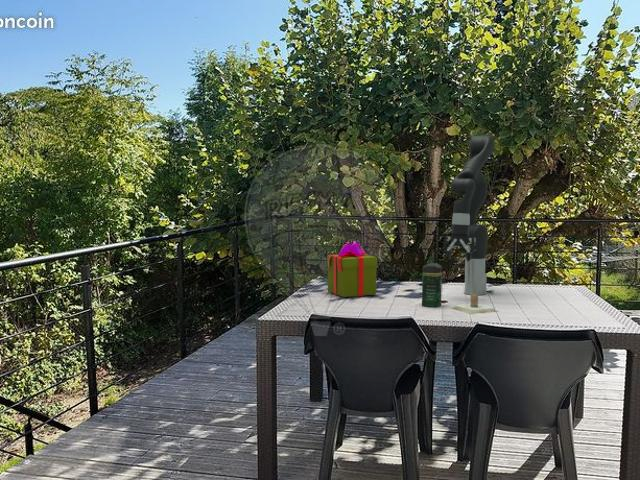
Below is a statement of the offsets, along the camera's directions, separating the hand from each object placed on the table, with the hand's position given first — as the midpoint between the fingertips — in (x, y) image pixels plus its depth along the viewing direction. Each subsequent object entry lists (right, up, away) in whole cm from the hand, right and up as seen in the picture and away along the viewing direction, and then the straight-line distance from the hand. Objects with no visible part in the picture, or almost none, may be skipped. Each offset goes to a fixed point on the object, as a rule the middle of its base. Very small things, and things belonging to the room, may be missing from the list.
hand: (458, 260), depth 254 cm
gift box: (-47, -17, +20) cm, 53 cm away
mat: (+1, -20, -21) cm, 29 cm away
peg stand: (+1, -19, -21) cm, 29 cm away
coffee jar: (-14, -20, -11) cm, 27 cm away
